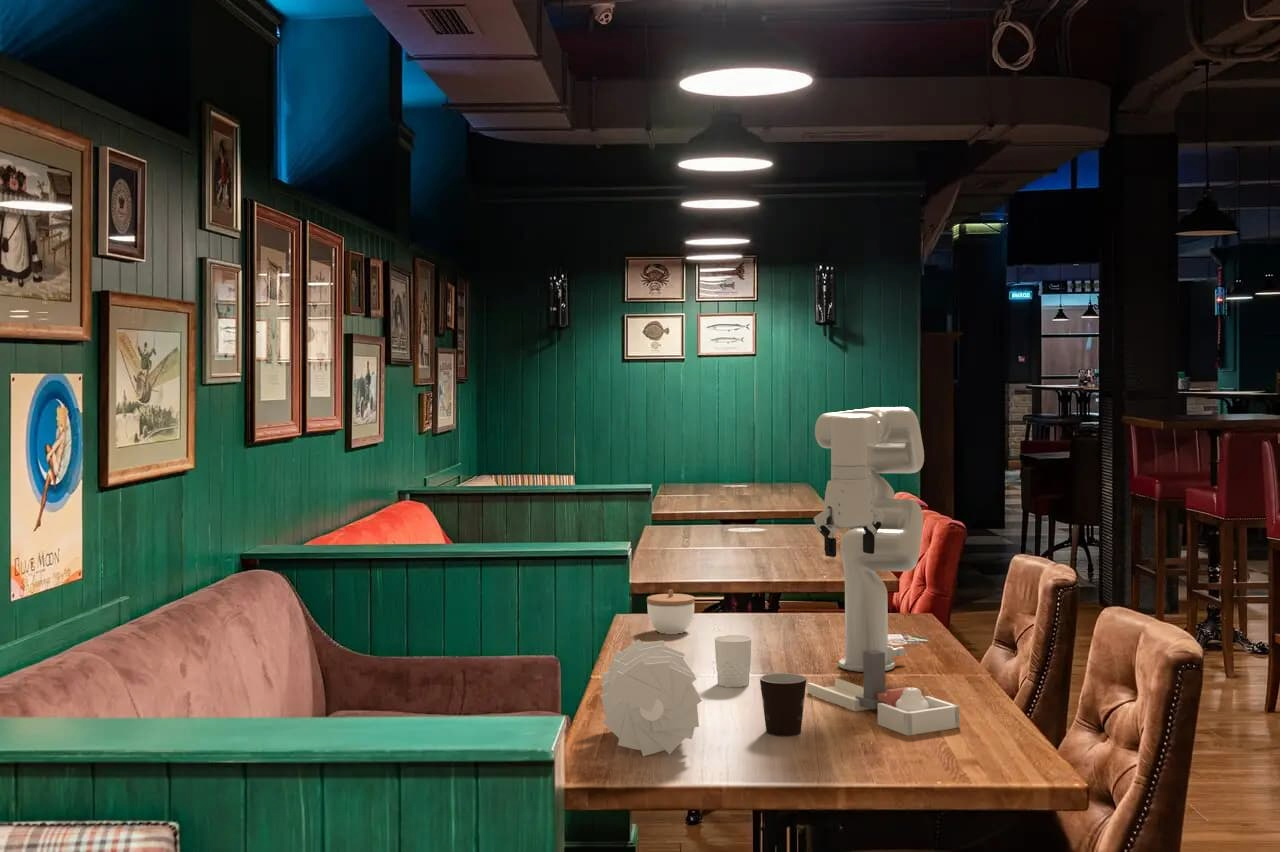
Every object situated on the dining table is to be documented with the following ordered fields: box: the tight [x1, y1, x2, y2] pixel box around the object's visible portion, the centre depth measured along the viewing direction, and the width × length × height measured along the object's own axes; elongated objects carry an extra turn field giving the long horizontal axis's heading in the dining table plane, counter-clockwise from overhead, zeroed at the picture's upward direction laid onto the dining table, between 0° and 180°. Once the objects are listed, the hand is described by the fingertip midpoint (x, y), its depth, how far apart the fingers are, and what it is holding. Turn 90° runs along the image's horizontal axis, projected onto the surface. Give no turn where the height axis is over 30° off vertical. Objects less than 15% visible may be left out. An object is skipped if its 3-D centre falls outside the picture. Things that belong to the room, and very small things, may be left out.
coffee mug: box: [759, 672, 808, 737], centre depth 240 cm, size 12×9×10 cm
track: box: [806, 678, 873, 713], centre depth 263 cm, size 8×17×2 cm, turn 26°
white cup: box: [714, 634, 752, 688], centre depth 278 cm, size 8×8×10 cm
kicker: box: [855, 650, 911, 710], centre depth 252 cm, size 5×12×10 cm, turn 26°
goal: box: [877, 695, 960, 736], centre depth 242 cm, size 12×9×4 cm
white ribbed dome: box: [896, 686, 929, 712], centre depth 244 cm, size 6×6×7 cm
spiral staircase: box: [600, 638, 703, 757], centre depth 233 cm, size 18×18×25 cm
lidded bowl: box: [646, 589, 696, 635], centre depth 339 cm, size 13×13×11 cm
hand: (849, 554), depth 273 cm, fingers open, 9 cm apart
